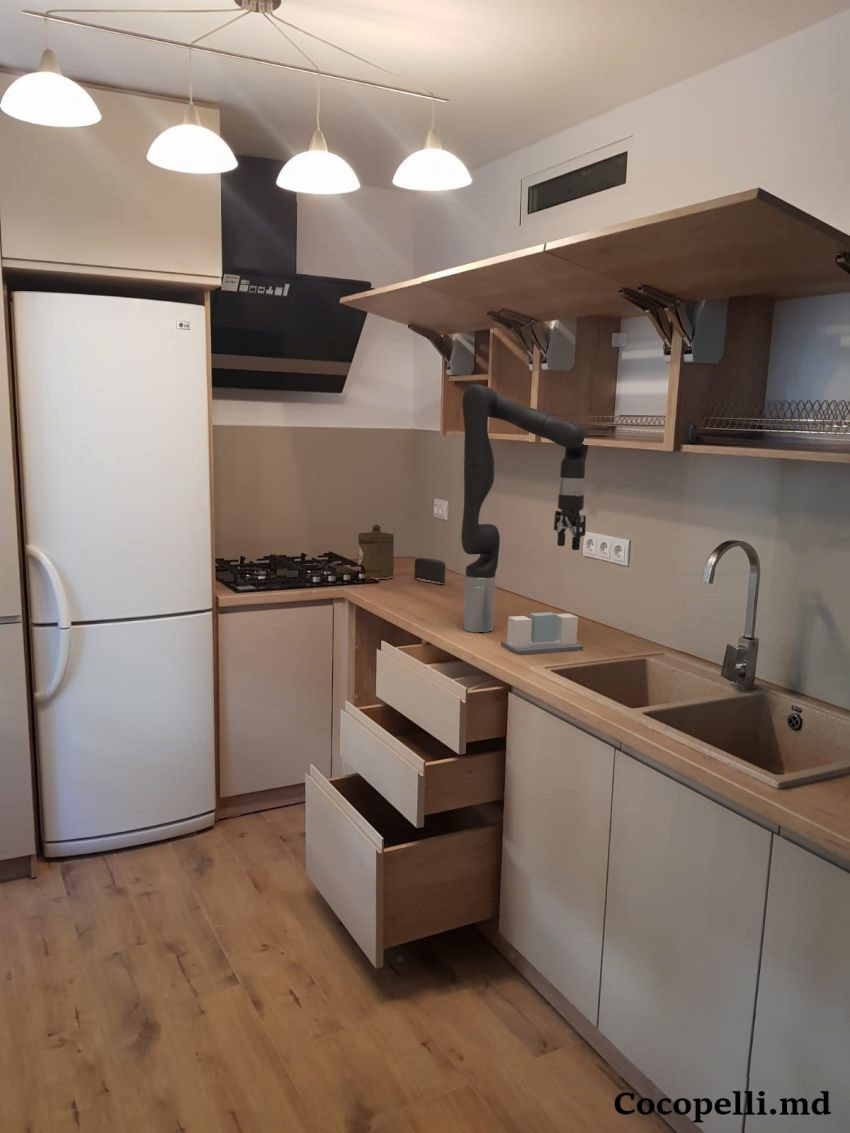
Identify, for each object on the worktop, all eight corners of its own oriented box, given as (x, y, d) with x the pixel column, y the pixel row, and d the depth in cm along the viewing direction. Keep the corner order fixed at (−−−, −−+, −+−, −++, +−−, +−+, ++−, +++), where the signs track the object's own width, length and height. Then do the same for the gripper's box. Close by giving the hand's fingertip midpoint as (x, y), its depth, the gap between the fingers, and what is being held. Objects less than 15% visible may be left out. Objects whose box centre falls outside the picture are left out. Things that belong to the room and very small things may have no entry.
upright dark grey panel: (450, 584, 341) (451, 561, 340) (442, 586, 338) (443, 562, 336) (421, 579, 352) (421, 556, 351) (413, 580, 349) (414, 557, 347)
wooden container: (364, 573, 361) (365, 522, 358) (397, 575, 358) (399, 524, 354) (352, 579, 347) (353, 525, 344) (387, 581, 343) (388, 527, 340)
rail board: (500, 645, 247) (502, 614, 245) (563, 641, 254) (565, 611, 253) (517, 655, 237) (519, 622, 235) (583, 650, 244) (584, 619, 242)
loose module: (528, 640, 246) (529, 613, 244) (549, 638, 248) (550, 612, 247) (534, 643, 242) (535, 616, 241) (555, 641, 245) (557, 614, 243)
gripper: (548, 491, 254) (545, 544, 256) (572, 495, 241) (569, 551, 243) (570, 491, 256) (567, 544, 259) (595, 495, 243) (591, 551, 246)
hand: (568, 547), depth 251 cm, fingers open, 8 cm apart
